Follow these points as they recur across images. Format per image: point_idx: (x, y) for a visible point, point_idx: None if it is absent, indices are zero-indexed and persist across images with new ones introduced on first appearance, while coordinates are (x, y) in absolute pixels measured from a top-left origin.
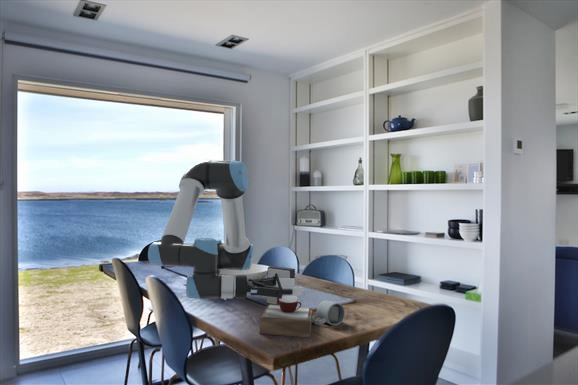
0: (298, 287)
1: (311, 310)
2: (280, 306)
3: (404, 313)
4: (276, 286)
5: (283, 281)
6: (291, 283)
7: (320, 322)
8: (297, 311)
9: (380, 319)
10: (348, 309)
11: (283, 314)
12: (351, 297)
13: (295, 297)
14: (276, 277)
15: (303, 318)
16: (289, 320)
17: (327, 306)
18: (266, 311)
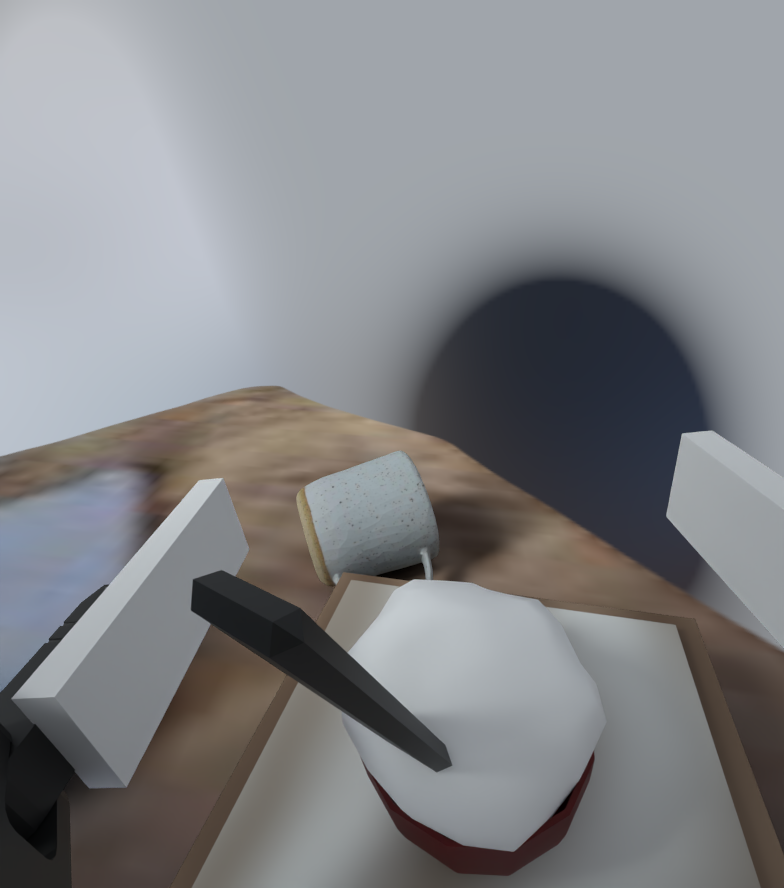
0: (748, 456)
1: (402, 582)
2: (524, 865)
3: (325, 406)
4: (127, 783)
5: (159, 610)
6: (224, 546)
7: None
8: None
9: (366, 441)
10: None
11: (643, 865)
12: (99, 468)
13: (537, 599)
14: (346, 667)
15: (685, 656)
16: (763, 813)
17: (402, 497)
18: None
